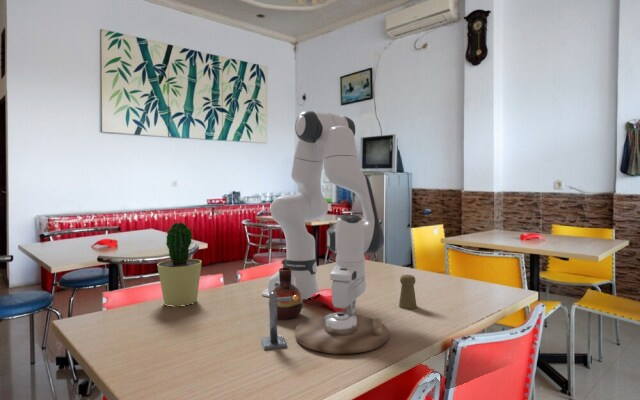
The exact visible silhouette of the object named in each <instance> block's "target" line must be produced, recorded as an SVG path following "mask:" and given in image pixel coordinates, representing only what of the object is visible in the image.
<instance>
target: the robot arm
mask: <svg viewBox="0 0 640 400" xmlns="http://www.w3.org/2000/svg"><path fill="white" fill-rule="evenodd" d="M294 127H295V128H294V129H295V134H296V136H297V138H298V139H297V142H296V147H295V150H294V155H293V161H292V168H291V174H290V177H291V179H292V180H293V182H294V183H295V184H296V185H297V189H298V192H297V194H295V193H293V194H284V195H280V196H278V197H275V198H274V199H273V201H272V202H271V205H270V208H269V209H270V215H271V217H272V219H273V221H275V222H276V223H277V224H278V225H279V226H280V228H281V230H282V232H283V234H284V237H285V245H286V246H285V247H286V248H285V249H286V258H285V259H283V260H281V261H280V265H282V268H291V269H292V272H291V284H292V285H294V286H295V287H296V288H298V290H299V291H300V292H301V295H302V298H303V300H309V299H308V298H310V297H311V296H312V295H313V294H315V293H317V292H320V290H319V285H318V280H317V270H318V269H317V268H318V267H317V265H318V264H317V257H316V239H315V237H314V235H313V234H311V233H309V232H308V231H309V230H308V229H307V227H306V223H310V222H316V221H319V220H322V219H324V218H325V217H326V216H327V214H328V211H329V204H328V201H327V199H326V198H325V196H324V194H323V193H322V187H321V178H322V171H323V170H322V169H323V167H324V174H325V176H326V178H327V179H328V181H329V182H331V184H333V185H335V186H337V187H339V188H342V189H345V190H347V191H350V192H352V193H353V194H355V195H356V196H357V197H358V199H359V201H360V207H361V210H362V215H363V218H364V219H363V218H362V217H360V216H359V215H355V214H343V215H340V216H338V217H337V220H336V223H334V224H331V226H330V227H328V229H327V230H326V248H327V249H329V250H330V252H332V253H335V254H336V256H335V264H334V267H333V269H332V270H331V272H330V275H329V277H330V281H332V282H331V301H332V302H331V303H332V305H333V308H335V309H337V308H338V309H345V313H350V314H353V315H355V312H356V304H357V299H358V298H359V297H360V296H362V295H363V294H364V293H365V292H366V289H367V286H366V258H365V257H366V256H365V254H367V255H368V254H371V255H375V254H377V253H378V252H379V251H380V250H381V249H382V248H383V246H384V244H385V238H384V237H385V236H384V233H383V228H382V226H381V223H380V219H379V214H378V212H377V206H376V202H375V197H374V193H373V190H372V189H373V188H372V185H371V182H370V179H369V177H368V175H366V173H363V171H362V169H361V168H360V166H359V161H358V151H357V150H358V149H357V143H356V138H355V135H356V125H355V122H354V121H353V119H351V118H349V117H348V116H345V115H339V114H336V113H331V112H321V111H319V112H318V111H312V110H306V111H302V112H300V114H299V115H298V116H297V118H296V120H295V125H294ZM363 220H364V221H363ZM267 283H268V285H267V288H265V289H264V290H263V291H262V293H261V295H262V296H263V297H267V298H269V293H270V292H272V291H273V289H274V288H275V287H277V286H278V285H279V284H280V277H279V270H278V271H277V272H275V273H274V274H273V275H272V276H271V277H270V278H269V280H268V282H267Z"/></svg>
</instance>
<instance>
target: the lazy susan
mask: <svg viewBox="0 0 640 400" xmlns="http://www.w3.org/2000/svg"><path fill="white" fill-rule="evenodd" d="M326 315H327V314H326ZM326 315H325V314H324V315H319V316H314V317H311V318H308V319H305V320H303V321H302V322H300V323H299V324H298V325H297V326H296V327H295V329H294V330H295V331H294V332H295V333H294V336H295V337H294V338H295V339H296V341H297V342H298V343H299V344H300V345H301V346H302V347H304V348H307V349H309V350H311V351H315V352H320V353H324V354H325V353H326V354H327V353H328V354H335V355H346V354H347V355H350V354H359V353H364V352H365V353H366V352H369V351H372V350H375V349H378V348H380V347H383V345H384V344H386V343H387V341H388V339H389V330H388V327H387V326H386V325H385V324H384V323H383V320H382V319H381V318H378V317H377V318H371V317H367V316H362V315H356V314H354V315H355V316H356V317H357V332H356V333H354V334H352V335H347V336H335V335H331V334H328V333H326V332H325V316H326Z"/></svg>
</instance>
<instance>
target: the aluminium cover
mask: <svg viewBox="0 0 640 400" xmlns="http://www.w3.org/2000/svg"><path fill="white" fill-rule="evenodd" d="M355 315H356V314H350V313H346V312H343V311H342V312H339V311H338V312H333V313H328V314H326V316H325V332H326V333H328V334H331V335H335V336H347V335H352V334H354V333H356V332H357V317H356V316H355Z"/></svg>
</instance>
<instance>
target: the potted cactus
mask: <svg viewBox="0 0 640 400" xmlns="http://www.w3.org/2000/svg"><path fill="white" fill-rule="evenodd" d="M191 230H192V229H191V227H190V226H187V224H186V223H183V222H176V223H173V224H171V225H170V227H169V228H168V230H167V232H166V233H167V234H166V243H164V245H166V248H167V250H168V255H169V258H170V259H168V260H165V261H164V260H163V261H161V262H157V264H156V265H157V272H158V277H159V282H160V288H161V294H162V299H163V303H165V304H167V305H173V306H181V305H188V304H192V303H194V302H196V301H198V296H199V295H198V293H199V286H200V278H201V270H202V260H201V259H196V258H195V259H194V258H190V257H189V254H190V252H191V251H190V250H189V249H190V247H191V244H194V243H195V242H193V241H192V240H193V234H192V233H194V231H193V230H192V231H191ZM196 303H197V302H196ZM165 304H164V305H165ZM194 304H195V303H194ZM192 305H193V304H192Z"/></svg>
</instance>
